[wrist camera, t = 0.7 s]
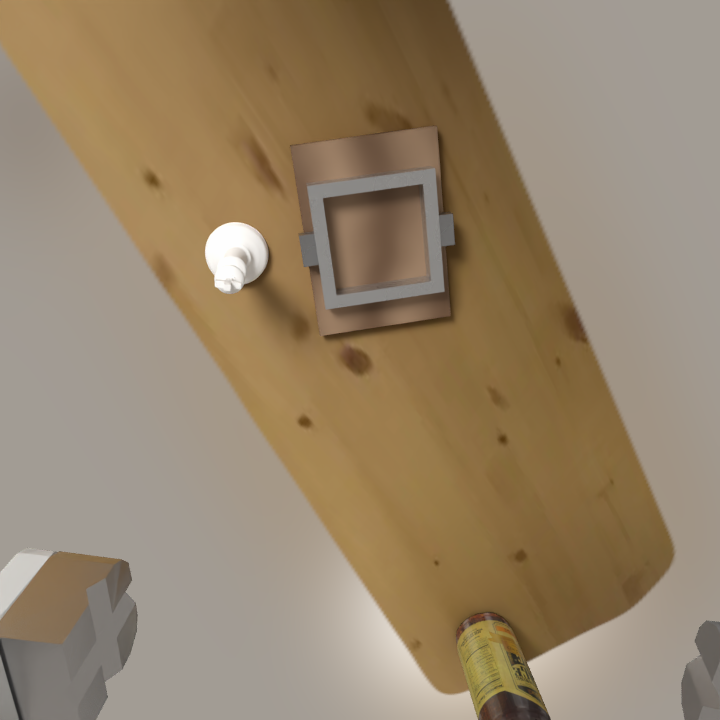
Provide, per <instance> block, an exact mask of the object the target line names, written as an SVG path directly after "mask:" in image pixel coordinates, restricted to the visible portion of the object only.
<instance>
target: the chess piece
mask: <svg viewBox="0 0 720 720" xmlns="http://www.w3.org/2000/svg"><path fill="white" fill-rule="evenodd" d="M268 255H269V254H268V247H267V244H266V241H265V239H264V238H263V236H262V235H261V234H260V233H259V232H258V231H257V230H256V229H255V228H253V227H251V226H249V225H247V224H244V223H238V222H232V223H227V224H224V225H222V226H220V227H218V228H217V229H216V230H214V231H213V232H212V234H211V235H210V237H209V238H208V240H207V243H206V248H205V256H206V261H207V264H208V266H209V268H210V270H211V271H212V273H213V274H214V275H215V278H214V279H215V287H217V288H218V289H219V290H220V291H222V292H224V293H227V294H233V293H236V292H238V291H240V290H241V289H242V287H243V285H244V284H247V283H250V282H252V281H254V280H255V279H256V278H258V277H259V276H260V275H261V274H262V272H263V271H264V269H265V268H266V265H267V262H268Z"/></svg>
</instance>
